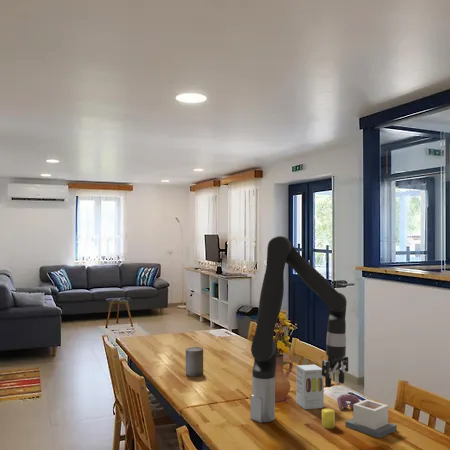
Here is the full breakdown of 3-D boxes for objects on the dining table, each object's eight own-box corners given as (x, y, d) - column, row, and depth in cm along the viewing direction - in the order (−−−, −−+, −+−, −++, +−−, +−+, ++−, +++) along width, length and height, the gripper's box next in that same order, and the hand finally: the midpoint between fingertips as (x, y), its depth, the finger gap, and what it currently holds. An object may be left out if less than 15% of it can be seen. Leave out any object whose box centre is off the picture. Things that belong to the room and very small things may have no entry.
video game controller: (359, 411, 210) (357, 394, 213) (362, 410, 206) (360, 393, 209) (337, 411, 209) (335, 394, 213) (339, 410, 205) (337, 393, 209)
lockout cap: (329, 429, 185) (329, 414, 186) (319, 425, 189) (319, 410, 189) (337, 426, 189) (337, 411, 189) (327, 422, 192) (327, 407, 193)
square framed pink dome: (379, 438, 177) (379, 413, 178) (345, 426, 189) (345, 403, 189) (396, 430, 185) (396, 406, 185) (362, 419, 197) (362, 396, 197)
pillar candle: (204, 371, 265) (204, 344, 266) (201, 376, 255) (201, 348, 256) (187, 371, 266) (187, 344, 267) (183, 376, 256) (183, 348, 257)
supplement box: (304, 409, 207) (304, 370, 207) (295, 402, 216) (295, 365, 216) (324, 407, 209) (324, 369, 210) (315, 401, 218) (315, 363, 219)
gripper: (332, 347, 182) (331, 390, 182) (354, 343, 192) (353, 384, 191) (317, 344, 188) (315, 385, 188) (338, 339, 197) (337, 379, 197)
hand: (334, 384), depth 189 cm, fingers open, 8 cm apart
